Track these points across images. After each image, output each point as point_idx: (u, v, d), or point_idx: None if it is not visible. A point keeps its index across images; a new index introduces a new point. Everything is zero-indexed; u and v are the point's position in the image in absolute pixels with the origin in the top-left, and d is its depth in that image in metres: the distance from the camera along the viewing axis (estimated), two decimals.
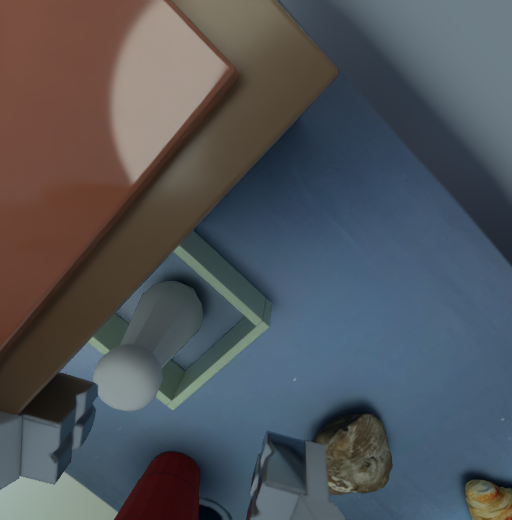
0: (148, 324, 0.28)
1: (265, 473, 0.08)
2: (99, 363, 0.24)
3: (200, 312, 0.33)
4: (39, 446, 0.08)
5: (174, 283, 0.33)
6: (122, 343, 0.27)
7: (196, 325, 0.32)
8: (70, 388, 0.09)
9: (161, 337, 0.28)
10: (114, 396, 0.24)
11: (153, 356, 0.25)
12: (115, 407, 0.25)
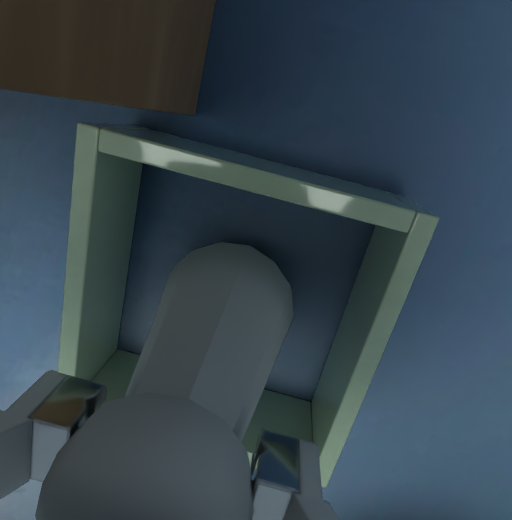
0: (167, 335, 0.11)
1: (258, 471, 0.08)
2: None
3: (278, 276, 0.16)
4: (49, 449, 0.08)
5: (204, 247, 0.16)
6: None
7: (283, 302, 0.15)
8: (80, 391, 0.09)
9: (205, 349, 0.10)
10: None
11: (186, 406, 0.08)
12: None
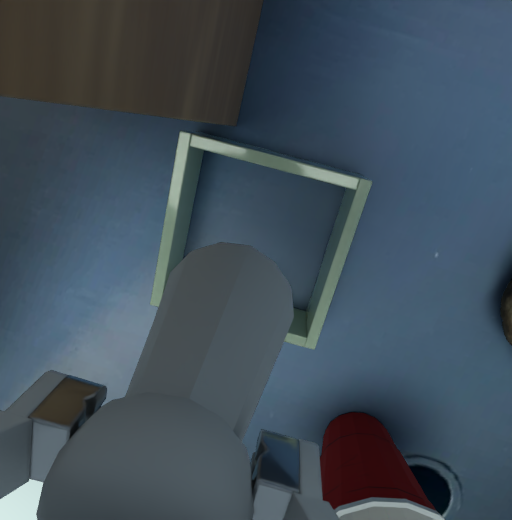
0: (167, 335, 0.11)
1: (258, 471, 0.08)
2: None
3: (279, 276, 0.16)
4: (49, 449, 0.08)
5: (204, 247, 0.16)
6: None
7: (283, 302, 0.15)
8: (79, 390, 0.09)
9: (205, 349, 0.10)
10: None
11: (187, 405, 0.08)
12: None
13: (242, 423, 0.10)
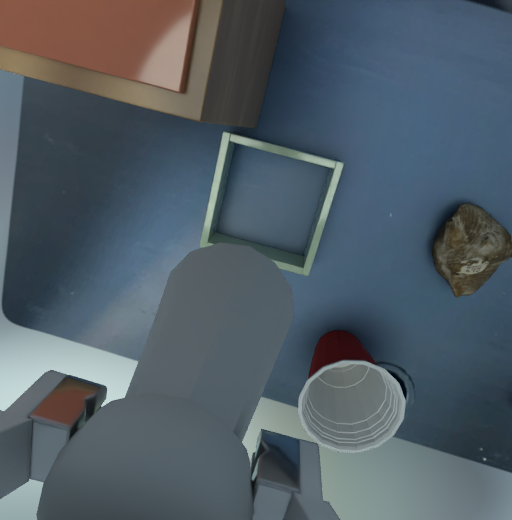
0: (167, 336, 0.11)
1: (259, 471, 0.08)
2: None
3: (279, 276, 0.16)
4: (49, 449, 0.08)
5: (204, 248, 0.16)
6: None
7: (283, 302, 0.15)
8: (79, 391, 0.09)
9: (205, 349, 0.10)
10: None
11: (187, 406, 0.08)
12: None
13: (242, 424, 0.10)
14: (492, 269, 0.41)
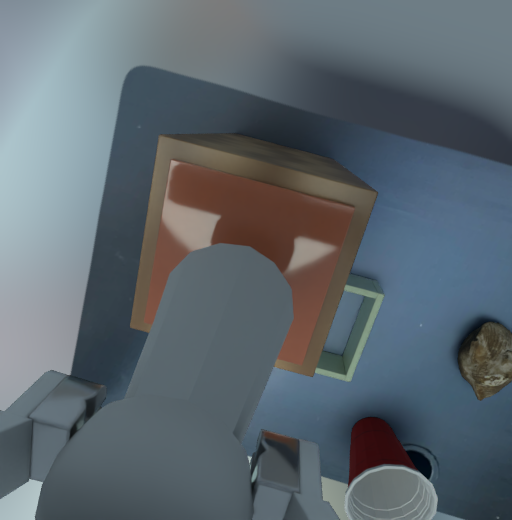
0: (166, 336, 0.11)
1: (258, 471, 0.08)
2: None
3: (278, 277, 0.16)
4: (49, 449, 0.08)
5: (204, 248, 0.16)
6: None
7: (283, 303, 0.15)
8: (79, 390, 0.09)
9: (205, 350, 0.10)
10: None
11: (186, 408, 0.08)
12: None
13: (242, 425, 0.10)
14: (511, 380, 0.47)
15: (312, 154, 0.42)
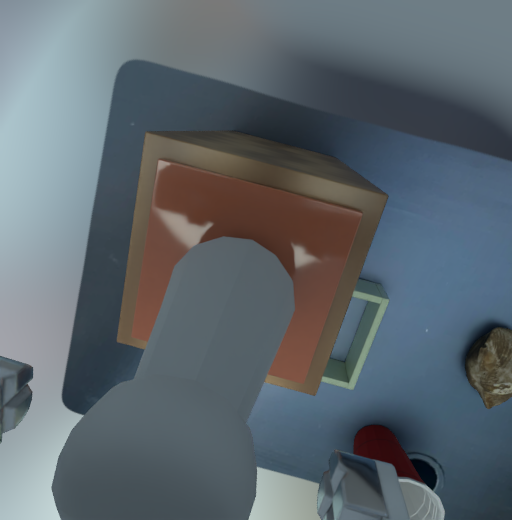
0: (173, 324, 0.12)
1: (344, 495, 0.08)
2: None
3: (280, 269, 0.16)
4: None
5: (208, 241, 0.17)
6: None
7: (284, 294, 0.15)
8: (0, 369, 0.09)
9: (210, 336, 0.11)
10: None
11: (194, 386, 0.08)
12: None
13: (245, 407, 0.11)
14: None
15: (314, 152, 0.40)
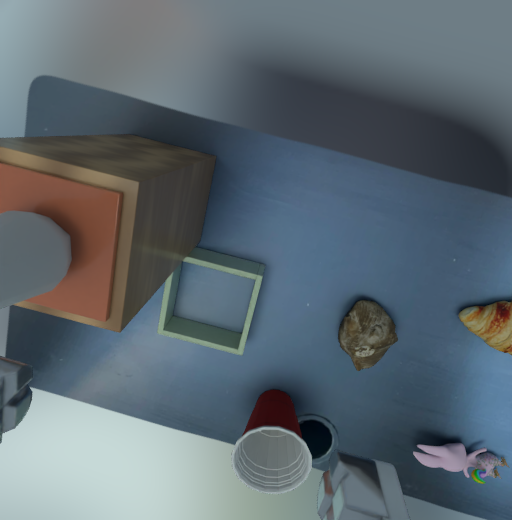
0: None
1: (344, 495, 0.08)
2: None
3: (47, 231, 0.24)
4: None
5: (1, 214, 0.24)
6: None
7: (42, 247, 0.23)
8: (0, 368, 0.09)
9: None
10: None
11: None
12: None
13: None
14: (382, 351, 0.52)
15: (191, 152, 0.48)
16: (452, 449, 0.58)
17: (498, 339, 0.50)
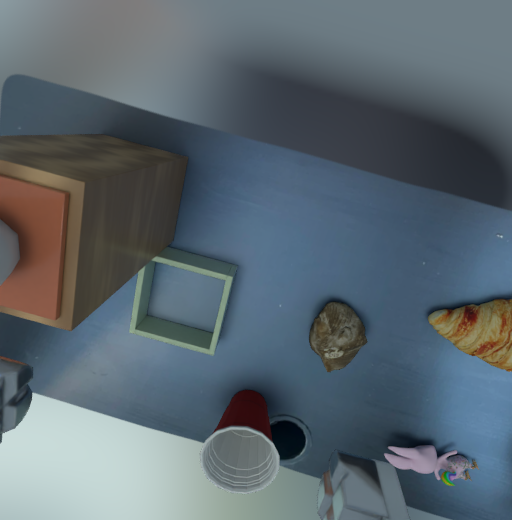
0: None
1: (344, 495, 0.08)
2: None
3: None
4: None
5: None
6: None
7: None
8: (0, 368, 0.09)
9: None
10: None
11: None
12: None
13: None
14: (351, 353, 0.53)
15: (162, 152, 0.48)
16: (423, 451, 0.58)
17: (465, 342, 0.50)
